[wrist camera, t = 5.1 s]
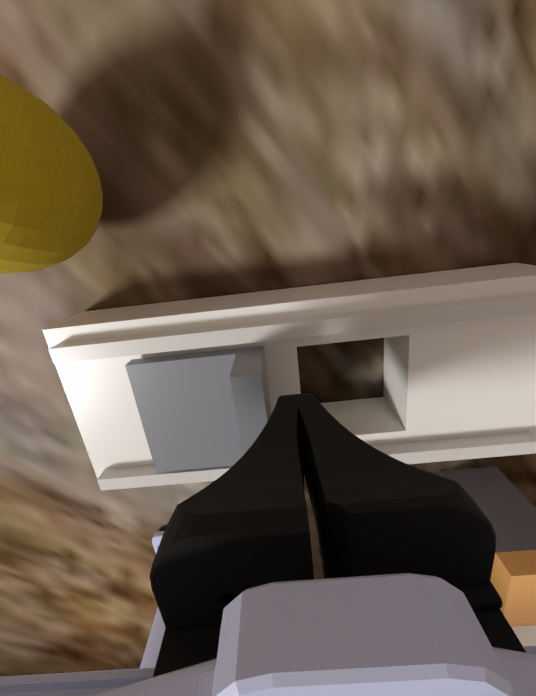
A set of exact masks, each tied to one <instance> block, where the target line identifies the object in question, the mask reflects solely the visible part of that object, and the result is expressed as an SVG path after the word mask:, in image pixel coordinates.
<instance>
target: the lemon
mask: <svg viewBox="0 0 536 696" xmlns="http://www.w3.org/2000/svg"><path fill="white" fill-rule="evenodd" d="M102 203H103V193H102V187H101V182H100V176H99V174H98V171H97V169H96V167H95V164H94V162H93V159H92V157H91V155H90V153H89V152H88V150H87V149H86V147H85V146H84V144H83V143H82V141H81V140H80V138H79V137H78V135H77V134H76V133H75V131H74V130H73V129H72V128H71V127H70V126H69V125H68V124H67V123H66V122H65V121H64V120H63V119H62V118H61V117H60V116H59V115H58V114H57V113H56V112H55V111H54V110H53V109H52V108H50V107H49V106H48V105H47V104H46V103H44V102H43V101H42V100H40V99H39V98H37V97H36V96H34V95H33V94H31V93H29V92H28V91H26V90H25V89H23V88H21V87H20V86H18V85H17V84H15V83H13V82H12V81H10V80H8V79H7V78H5V77H3V76H1V75H0V273H15V272H26V271H35V270H40V269H44V268H47V267H49V266H52V265H54V264H57V263H60V262H62V261H65V260H67V259H69V258H70V257H72V256H73V255H74V254H75V253H77V252H78V251H79V250H80V249H82V248H83V247H84V246H85V245H87V243H88V242H89V240H90V239H91V237H92V236H93V234H94V233H95V231H96V229H97V227H98V224H99V221H100V218H101V214H102Z"/></svg>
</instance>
